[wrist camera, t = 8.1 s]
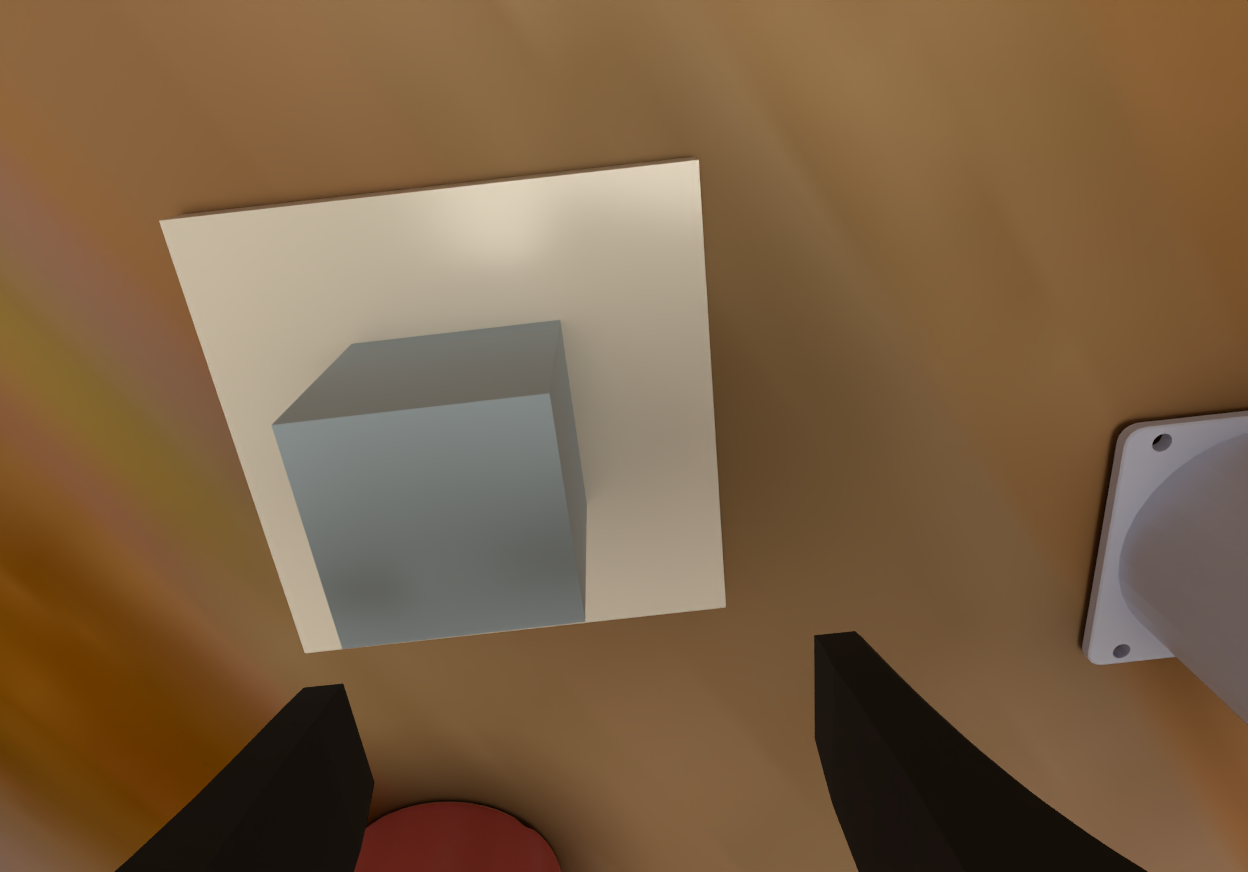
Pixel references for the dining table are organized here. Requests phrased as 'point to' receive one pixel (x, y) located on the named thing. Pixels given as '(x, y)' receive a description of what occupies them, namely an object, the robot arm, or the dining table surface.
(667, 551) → the cream tile
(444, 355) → the grey cube
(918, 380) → the dining table surface
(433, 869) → the flower pot
